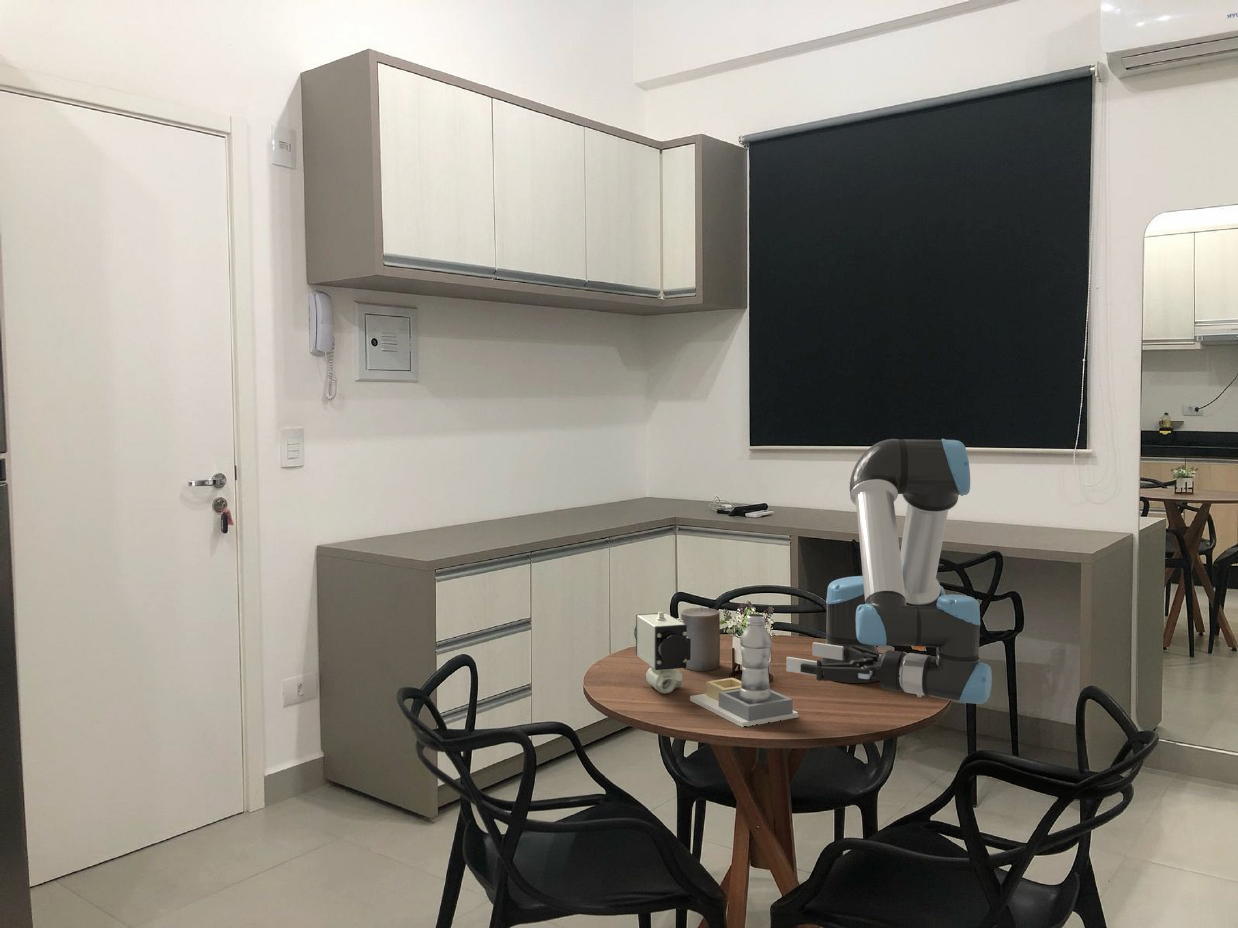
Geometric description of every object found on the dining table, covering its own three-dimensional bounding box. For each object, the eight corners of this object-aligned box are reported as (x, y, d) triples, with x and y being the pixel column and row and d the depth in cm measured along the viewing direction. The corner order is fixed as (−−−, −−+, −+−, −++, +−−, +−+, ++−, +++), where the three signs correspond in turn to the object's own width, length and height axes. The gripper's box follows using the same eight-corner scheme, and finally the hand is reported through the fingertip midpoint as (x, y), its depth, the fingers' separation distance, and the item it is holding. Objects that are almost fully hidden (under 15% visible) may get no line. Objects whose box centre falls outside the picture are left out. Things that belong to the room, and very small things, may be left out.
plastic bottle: (737, 705, 209) (738, 611, 208) (769, 705, 209) (770, 612, 208) (739, 714, 203) (740, 618, 202) (772, 715, 202) (774, 618, 201)
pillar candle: (720, 661, 248) (719, 602, 247) (720, 671, 238) (719, 610, 238) (681, 660, 249) (681, 602, 248) (679, 671, 239) (679, 610, 239)
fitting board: (743, 691, 222) (743, 674, 222) (798, 717, 204) (798, 698, 204) (690, 700, 216) (690, 682, 215) (742, 727, 198) (742, 707, 198)
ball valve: (695, 698, 217) (696, 619, 216) (659, 702, 214) (659, 621, 213) (666, 677, 234) (667, 603, 233) (632, 680, 231) (633, 605, 230)
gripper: (883, 708, 178) (775, 689, 190) (922, 675, 199) (822, 660, 211) (884, 668, 178) (775, 651, 189) (923, 639, 199) (823, 625, 210)
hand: (800, 656), depth 200 cm, fingers open, 13 cm apart
